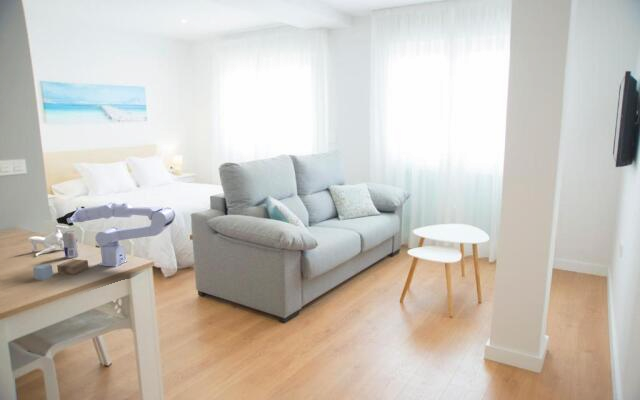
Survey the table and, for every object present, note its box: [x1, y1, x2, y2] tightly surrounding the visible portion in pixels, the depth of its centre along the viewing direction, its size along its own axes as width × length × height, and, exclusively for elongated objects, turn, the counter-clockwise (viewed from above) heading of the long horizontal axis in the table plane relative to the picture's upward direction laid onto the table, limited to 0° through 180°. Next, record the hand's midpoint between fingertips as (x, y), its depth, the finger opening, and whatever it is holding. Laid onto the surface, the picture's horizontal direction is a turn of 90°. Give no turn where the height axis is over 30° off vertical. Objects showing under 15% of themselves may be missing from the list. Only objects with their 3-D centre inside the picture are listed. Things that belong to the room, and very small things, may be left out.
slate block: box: [33, 263, 54, 281], centre depth 176 cm, size 4×4×5 cm
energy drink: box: [61, 230, 79, 259], centre depth 202 cm, size 5×5×12 cm
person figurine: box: [27, 225, 70, 257], centre depth 212 cm, size 13×13×18 cm
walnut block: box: [56, 258, 89, 276], centre depth 183 cm, size 8×8×4 cm
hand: (63, 218), depth 191 cm, fingers open, 7 cm apart
